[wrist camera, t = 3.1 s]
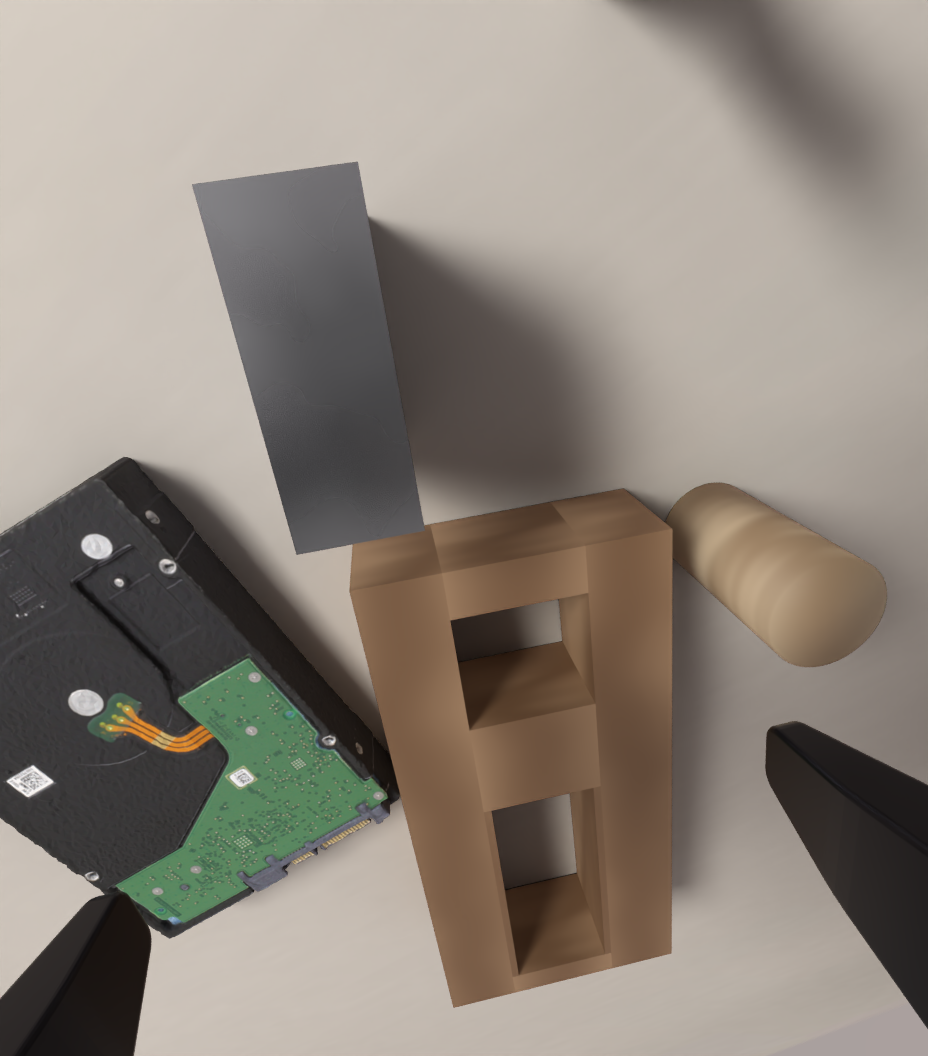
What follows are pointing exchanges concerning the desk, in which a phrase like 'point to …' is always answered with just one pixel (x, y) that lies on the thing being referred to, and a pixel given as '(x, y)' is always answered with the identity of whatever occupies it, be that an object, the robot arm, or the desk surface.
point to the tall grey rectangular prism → (315, 350)
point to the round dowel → (777, 575)
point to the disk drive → (164, 711)
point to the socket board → (531, 731)
